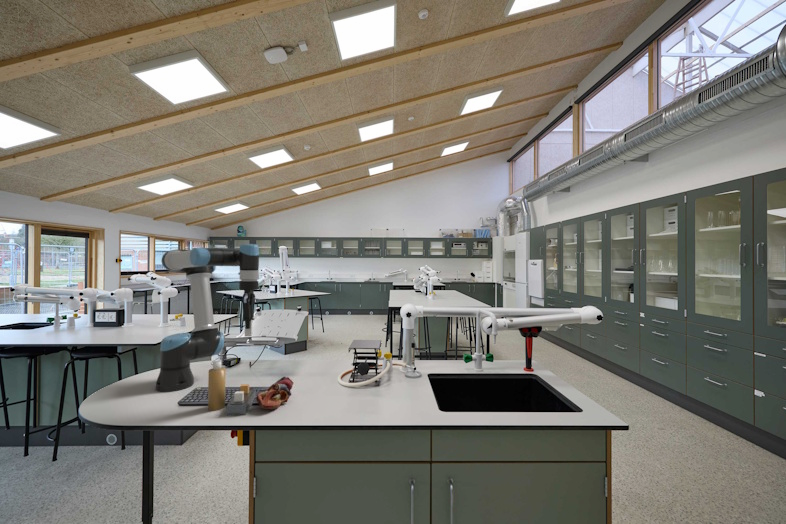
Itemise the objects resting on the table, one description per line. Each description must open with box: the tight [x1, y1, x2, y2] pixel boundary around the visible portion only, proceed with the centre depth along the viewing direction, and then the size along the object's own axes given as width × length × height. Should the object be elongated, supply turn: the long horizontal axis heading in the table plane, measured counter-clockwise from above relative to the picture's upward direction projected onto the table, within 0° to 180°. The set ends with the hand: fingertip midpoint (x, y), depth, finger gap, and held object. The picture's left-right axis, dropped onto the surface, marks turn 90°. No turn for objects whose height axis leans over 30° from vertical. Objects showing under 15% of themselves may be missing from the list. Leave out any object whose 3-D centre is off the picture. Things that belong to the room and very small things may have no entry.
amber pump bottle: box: [207, 360, 226, 412], centre depth 138 cm, size 6×6×18 cm
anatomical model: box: [255, 375, 294, 410], centre depth 142 cm, size 11×13×15 cm
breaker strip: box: [225, 387, 257, 417], centre depth 143 cm, size 22×7×4 cm, turn 9°
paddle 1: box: [233, 390, 244, 402], centre depth 136 cm, size 2×3×3 cm, turn 99°
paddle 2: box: [239, 383, 250, 394], centre depth 144 cm, size 2×3×3 cm, turn 99°
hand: (248, 335), depth 148 cm, fingers closed
